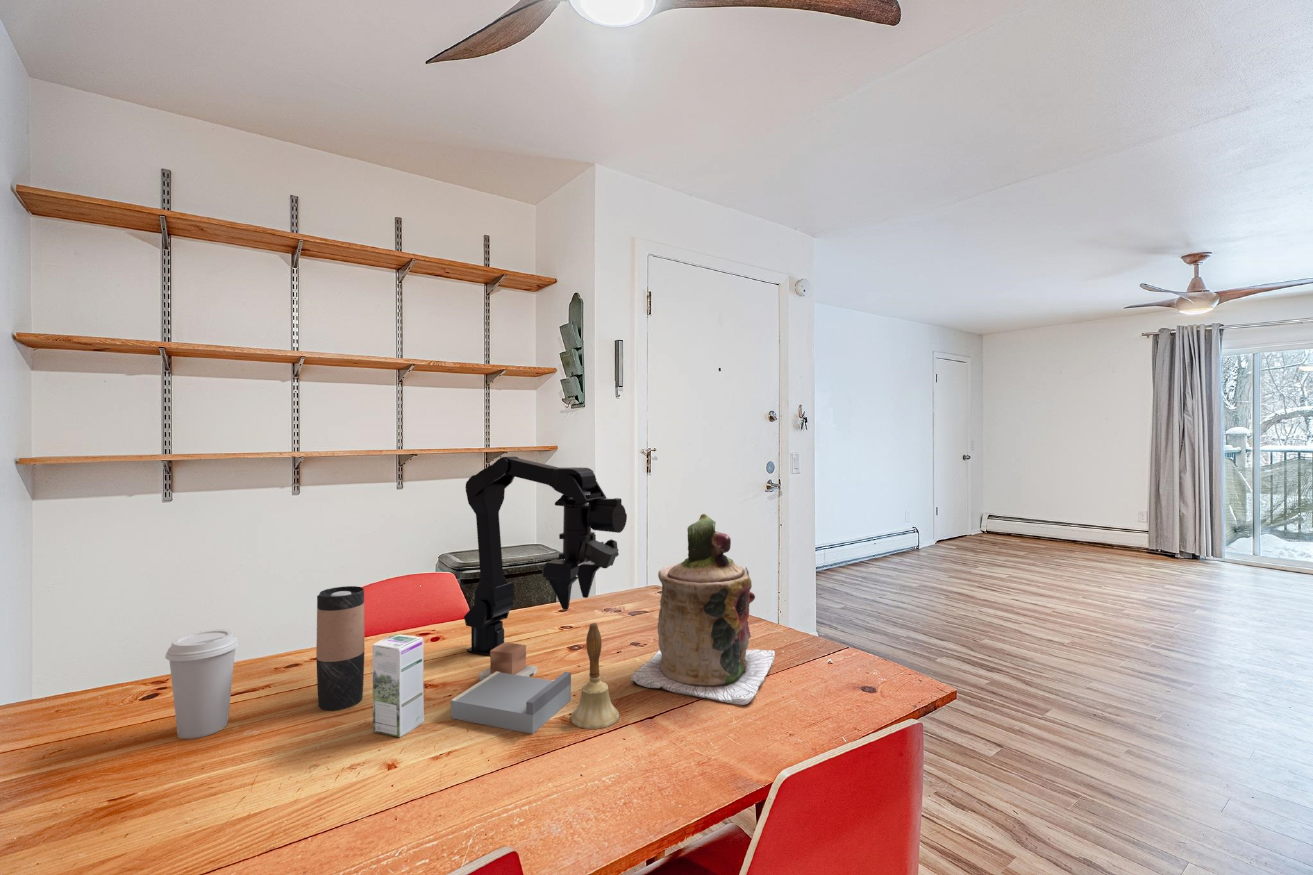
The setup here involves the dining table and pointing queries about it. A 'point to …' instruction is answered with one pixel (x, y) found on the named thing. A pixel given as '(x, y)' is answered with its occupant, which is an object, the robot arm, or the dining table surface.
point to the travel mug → (340, 647)
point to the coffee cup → (202, 681)
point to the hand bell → (594, 691)
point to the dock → (512, 701)
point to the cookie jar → (706, 625)
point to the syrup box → (398, 684)
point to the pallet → (508, 661)
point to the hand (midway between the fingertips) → (575, 603)
